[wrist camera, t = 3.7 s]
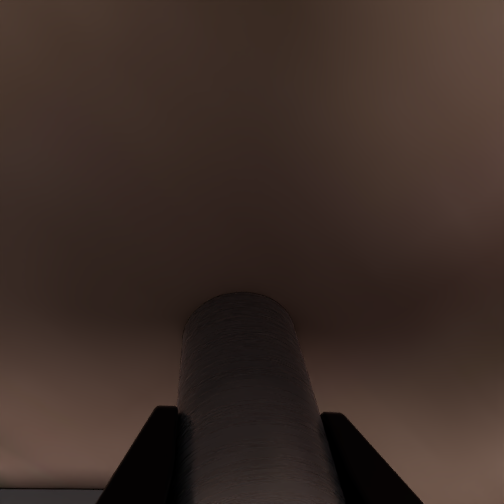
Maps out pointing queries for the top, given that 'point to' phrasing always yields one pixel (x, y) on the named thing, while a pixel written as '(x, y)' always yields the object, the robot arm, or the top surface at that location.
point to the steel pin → (248, 411)
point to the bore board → (48, 496)
